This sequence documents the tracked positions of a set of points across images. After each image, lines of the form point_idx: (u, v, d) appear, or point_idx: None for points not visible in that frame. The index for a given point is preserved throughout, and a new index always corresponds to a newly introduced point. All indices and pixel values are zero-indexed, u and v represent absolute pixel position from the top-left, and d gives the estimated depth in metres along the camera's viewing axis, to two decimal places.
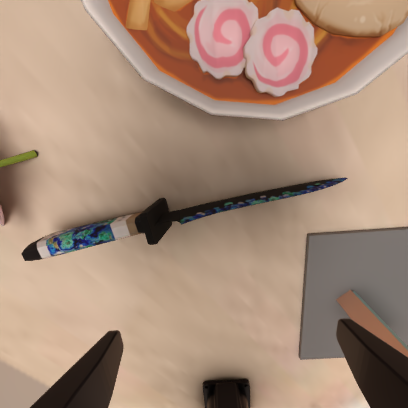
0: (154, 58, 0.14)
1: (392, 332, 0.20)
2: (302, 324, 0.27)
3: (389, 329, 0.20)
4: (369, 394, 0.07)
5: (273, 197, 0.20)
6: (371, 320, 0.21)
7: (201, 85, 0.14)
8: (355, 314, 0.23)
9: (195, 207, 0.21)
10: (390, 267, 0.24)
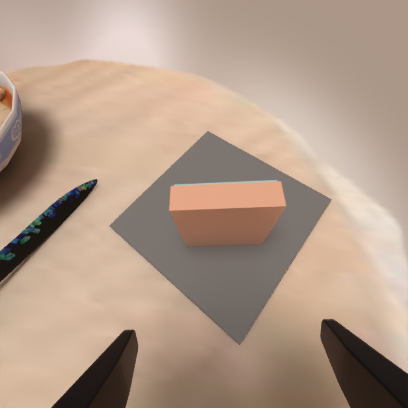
0: None
1: None
2: (190, 299, 0.21)
3: None
4: (350, 395, 0.07)
5: None
6: None
7: None
8: None
9: None
10: None
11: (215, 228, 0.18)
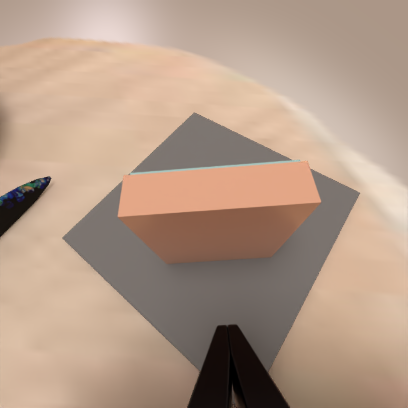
0: None
1: None
2: (171, 342, 0.14)
3: None
4: (235, 399, 0.07)
5: None
6: None
7: None
8: None
9: None
10: None
11: (203, 241, 0.12)
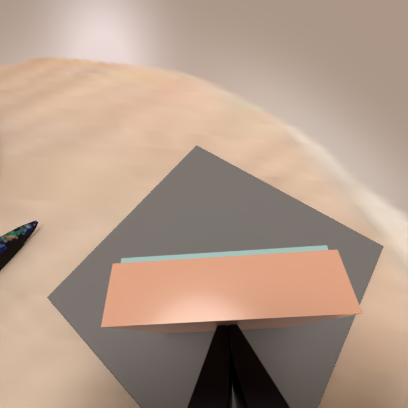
0: None
1: None
2: None
3: None
4: (235, 399, 0.07)
5: None
6: None
7: None
8: None
9: None
10: (174, 235, 0.18)
11: (207, 327, 0.10)
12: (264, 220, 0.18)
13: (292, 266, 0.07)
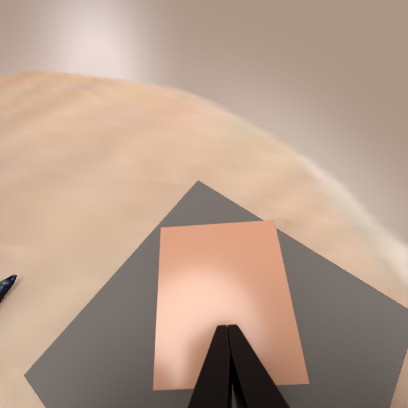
0: None
1: None
2: None
3: None
4: (235, 399, 0.07)
5: None
6: None
7: None
8: None
9: None
10: None
11: (208, 282, 0.13)
12: None
13: None
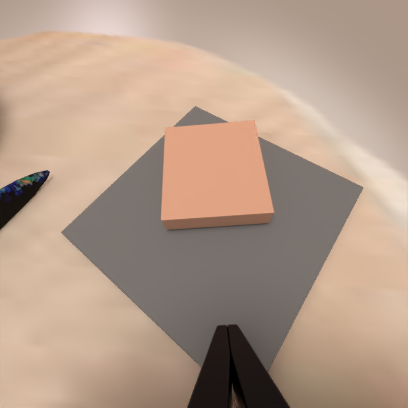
0: None
1: None
2: (171, 337, 0.14)
3: None
4: (236, 399, 0.07)
5: None
6: None
7: None
8: None
9: None
10: None
11: (202, 159, 0.18)
12: None
13: None
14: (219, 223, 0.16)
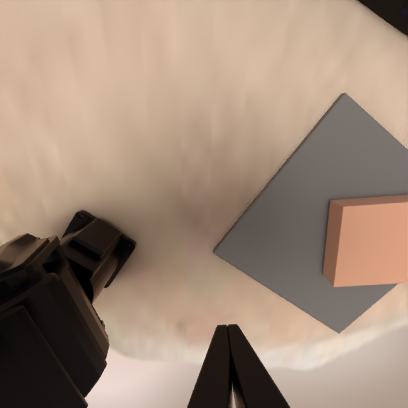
0: None
1: None
2: (249, 209, 0.21)
3: None
4: (235, 399, 0.07)
5: None
6: (379, 198, 0.19)
7: None
8: (370, 202, 0.18)
9: None
10: None
11: (399, 236, 0.19)
12: None
13: None
14: (329, 243, 0.21)
